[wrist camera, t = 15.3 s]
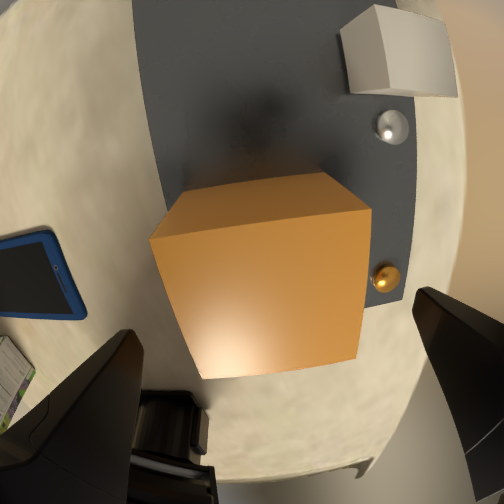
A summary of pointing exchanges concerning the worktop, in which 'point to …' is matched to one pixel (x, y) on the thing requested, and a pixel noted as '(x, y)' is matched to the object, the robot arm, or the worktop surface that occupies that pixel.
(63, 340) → the worktop surface
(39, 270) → the cell phone
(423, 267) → the worktop surface
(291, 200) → the orange squarish block
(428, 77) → the block
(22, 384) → the syrup box
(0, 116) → the worktop surface
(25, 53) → the worktop surface
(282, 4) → the panel
